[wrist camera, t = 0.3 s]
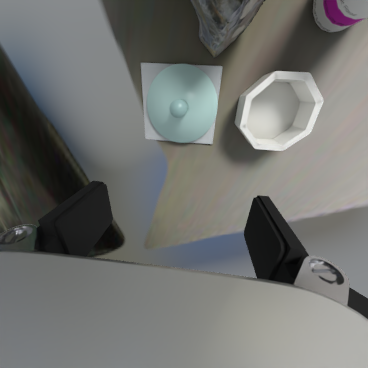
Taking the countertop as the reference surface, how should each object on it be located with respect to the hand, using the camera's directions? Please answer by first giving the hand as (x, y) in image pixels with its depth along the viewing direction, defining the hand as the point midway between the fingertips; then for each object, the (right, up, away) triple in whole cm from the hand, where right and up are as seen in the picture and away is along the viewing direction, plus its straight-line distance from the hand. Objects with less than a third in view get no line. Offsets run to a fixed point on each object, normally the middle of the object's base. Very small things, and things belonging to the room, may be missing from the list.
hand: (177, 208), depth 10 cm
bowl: (+17, +16, +22) cm, 32 cm away
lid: (0, +17, +22) cm, 28 cm away
